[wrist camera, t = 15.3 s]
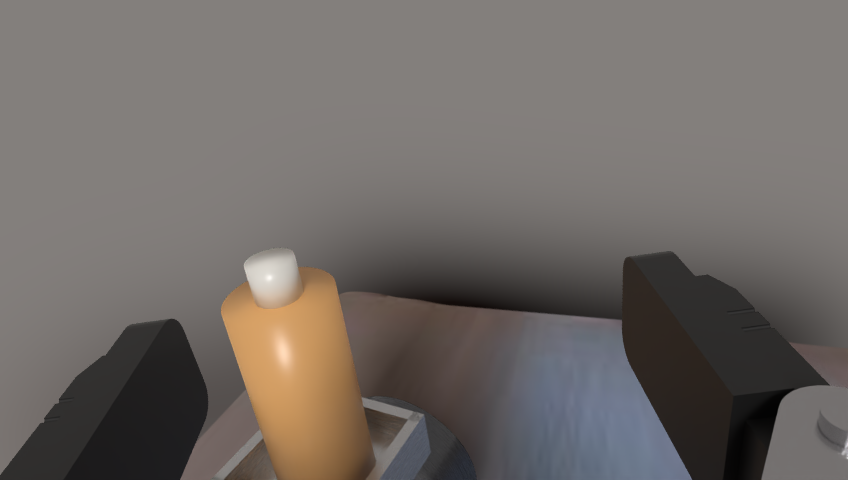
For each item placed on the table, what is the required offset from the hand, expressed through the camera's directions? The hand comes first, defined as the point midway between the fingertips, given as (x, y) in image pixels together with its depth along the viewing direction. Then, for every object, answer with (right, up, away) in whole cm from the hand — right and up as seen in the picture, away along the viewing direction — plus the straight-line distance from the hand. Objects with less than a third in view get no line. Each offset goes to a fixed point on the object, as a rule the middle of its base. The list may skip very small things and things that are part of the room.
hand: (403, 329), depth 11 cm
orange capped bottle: (-5, -12, +23) cm, 27 cm away
